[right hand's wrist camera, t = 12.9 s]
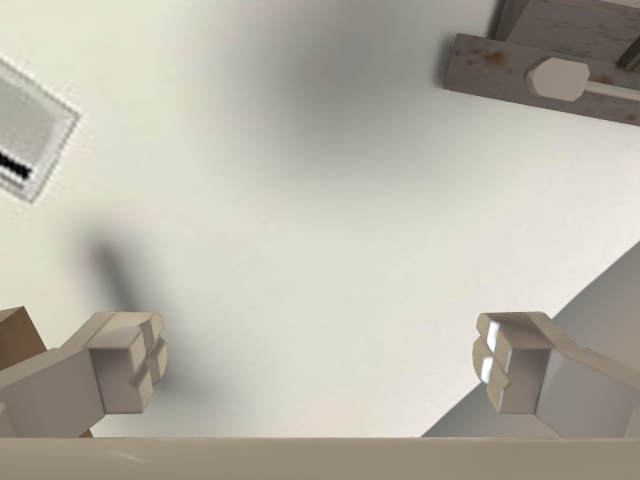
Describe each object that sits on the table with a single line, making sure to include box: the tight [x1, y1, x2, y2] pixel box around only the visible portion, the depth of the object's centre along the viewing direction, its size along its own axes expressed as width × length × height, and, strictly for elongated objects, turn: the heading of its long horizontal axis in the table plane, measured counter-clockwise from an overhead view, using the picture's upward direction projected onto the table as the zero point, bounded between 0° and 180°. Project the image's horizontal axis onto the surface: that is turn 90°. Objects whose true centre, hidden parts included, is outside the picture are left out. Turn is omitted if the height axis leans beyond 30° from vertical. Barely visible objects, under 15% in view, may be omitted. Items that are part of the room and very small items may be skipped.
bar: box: [0, 306, 94, 438], centre depth 30 cm, size 22×5×9 cm, turn 12°
